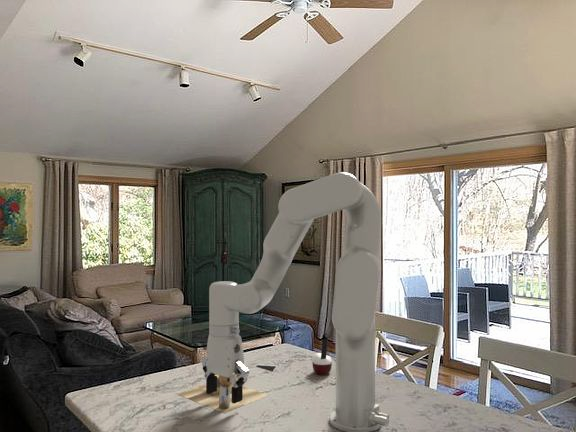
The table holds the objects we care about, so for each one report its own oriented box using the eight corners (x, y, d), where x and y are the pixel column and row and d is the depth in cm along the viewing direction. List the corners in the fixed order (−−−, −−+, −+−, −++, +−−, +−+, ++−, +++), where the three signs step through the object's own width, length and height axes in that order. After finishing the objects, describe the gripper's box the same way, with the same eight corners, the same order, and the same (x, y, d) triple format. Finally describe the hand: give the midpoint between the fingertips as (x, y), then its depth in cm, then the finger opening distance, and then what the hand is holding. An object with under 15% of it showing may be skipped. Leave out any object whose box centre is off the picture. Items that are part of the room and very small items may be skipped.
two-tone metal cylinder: (233, 406, 120) (235, 371, 120) (225, 410, 117) (226, 375, 117) (223, 402, 122) (224, 368, 121) (214, 407, 119) (216, 372, 118)
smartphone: (244, 381, 143) (244, 378, 143) (257, 366, 158) (257, 363, 158) (267, 383, 142) (267, 380, 142) (278, 367, 157) (278, 364, 157)
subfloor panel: (268, 399, 127) (268, 394, 128) (224, 418, 115) (224, 413, 115) (220, 383, 141) (220, 379, 141) (176, 398, 128) (176, 393, 128)
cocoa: (314, 369, 154) (313, 333, 155) (333, 370, 153) (332, 333, 154) (310, 378, 145) (308, 339, 146) (330, 378, 144) (328, 339, 144)
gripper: (258, 332, 117) (258, 401, 116) (213, 323, 128) (213, 385, 128) (236, 338, 111) (236, 410, 111) (191, 327, 122) (191, 393, 122)
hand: (224, 397), depth 119 cm, fingers open, 9 cm apart
